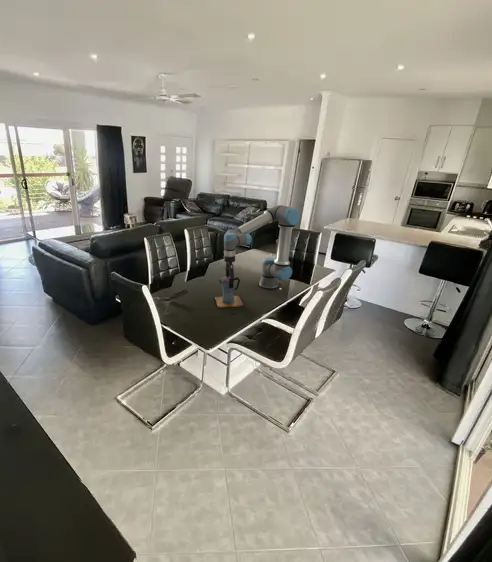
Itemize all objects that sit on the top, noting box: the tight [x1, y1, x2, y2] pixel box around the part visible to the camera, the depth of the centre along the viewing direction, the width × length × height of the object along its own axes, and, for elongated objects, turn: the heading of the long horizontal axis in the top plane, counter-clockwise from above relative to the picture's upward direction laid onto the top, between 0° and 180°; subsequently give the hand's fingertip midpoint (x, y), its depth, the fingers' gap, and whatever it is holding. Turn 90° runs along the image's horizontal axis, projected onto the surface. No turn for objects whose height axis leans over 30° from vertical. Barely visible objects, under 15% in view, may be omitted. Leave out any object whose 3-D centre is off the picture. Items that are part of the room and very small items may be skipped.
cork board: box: [214, 295, 244, 309], centre depth 232 cm, size 18×16×1 cm
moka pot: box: [218, 274, 241, 303], centre depth 228 cm, size 10×15×20 cm, turn 95°
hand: (229, 284), depth 227 cm, fingers open, 13 cm apart
